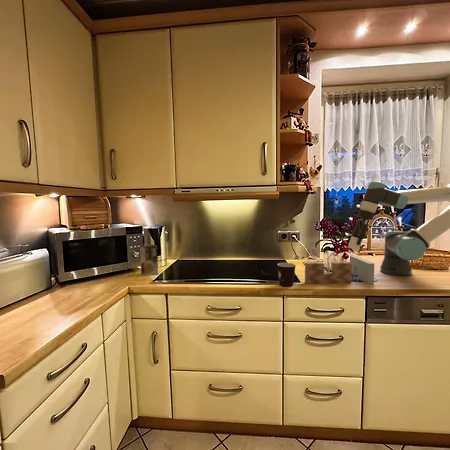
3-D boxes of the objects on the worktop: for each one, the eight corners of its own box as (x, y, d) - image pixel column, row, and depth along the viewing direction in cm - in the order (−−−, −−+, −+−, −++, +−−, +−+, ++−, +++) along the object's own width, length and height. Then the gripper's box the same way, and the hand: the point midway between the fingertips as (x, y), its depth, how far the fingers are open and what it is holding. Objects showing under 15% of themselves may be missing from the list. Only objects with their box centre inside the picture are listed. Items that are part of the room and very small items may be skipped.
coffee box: (157, 271, 168) (156, 244, 166) (158, 274, 161) (157, 246, 160) (140, 273, 165) (139, 245, 163) (141, 276, 159) (140, 247, 157)
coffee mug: (295, 288, 135) (295, 267, 134) (276, 287, 137) (277, 266, 136) (294, 281, 146) (295, 261, 145) (277, 280, 148) (277, 261, 147)
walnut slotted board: (348, 281, 145) (348, 261, 144) (351, 283, 142) (351, 263, 141) (304, 282, 144) (305, 262, 143) (306, 283, 141) (307, 263, 140)
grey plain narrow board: (345, 271, 165) (346, 254, 164) (350, 271, 165) (351, 253, 164) (367, 283, 141) (368, 263, 140) (373, 283, 141) (374, 263, 140)
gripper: (354, 209, 162) (341, 245, 164) (365, 207, 137) (349, 249, 140) (368, 213, 160) (355, 249, 162) (381, 212, 136) (365, 255, 138)
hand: (352, 249), depth 151 cm, fingers open, 13 cm apart
